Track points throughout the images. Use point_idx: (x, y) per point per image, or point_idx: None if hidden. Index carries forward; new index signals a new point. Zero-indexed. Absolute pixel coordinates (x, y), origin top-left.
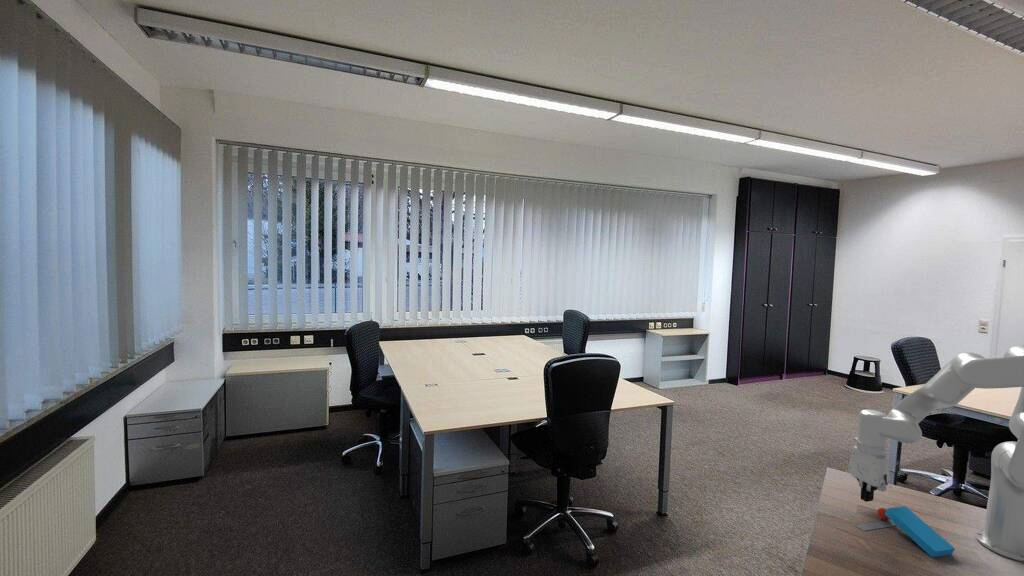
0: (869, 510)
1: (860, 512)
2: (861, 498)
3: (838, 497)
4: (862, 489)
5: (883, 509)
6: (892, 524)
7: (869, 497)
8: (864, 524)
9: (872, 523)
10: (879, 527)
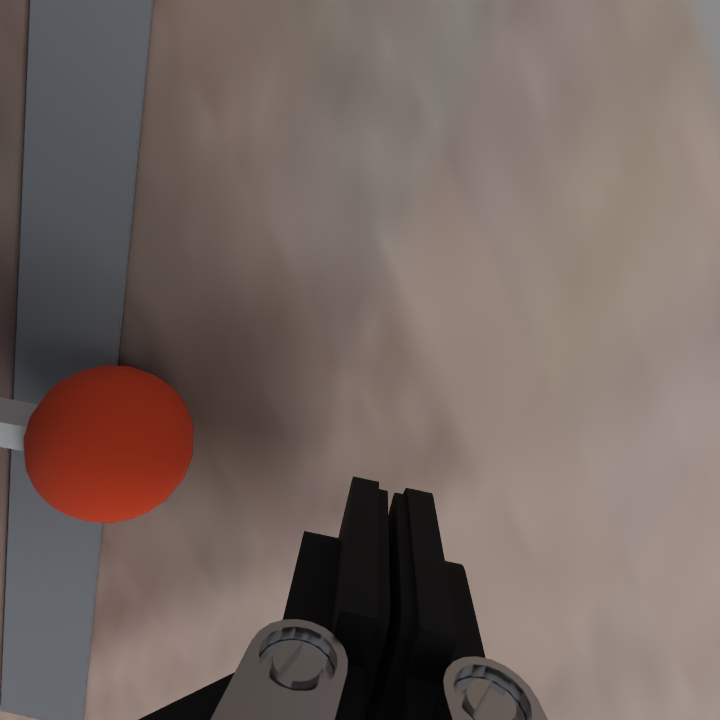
0: (325, 459)
1: (348, 303)
2: (417, 493)
3: (682, 410)
4: (427, 613)
5: (70, 452)
6: (37, 385)
7: (303, 553)
8: (144, 9)
9: (124, 159)
10: (34, 148)
